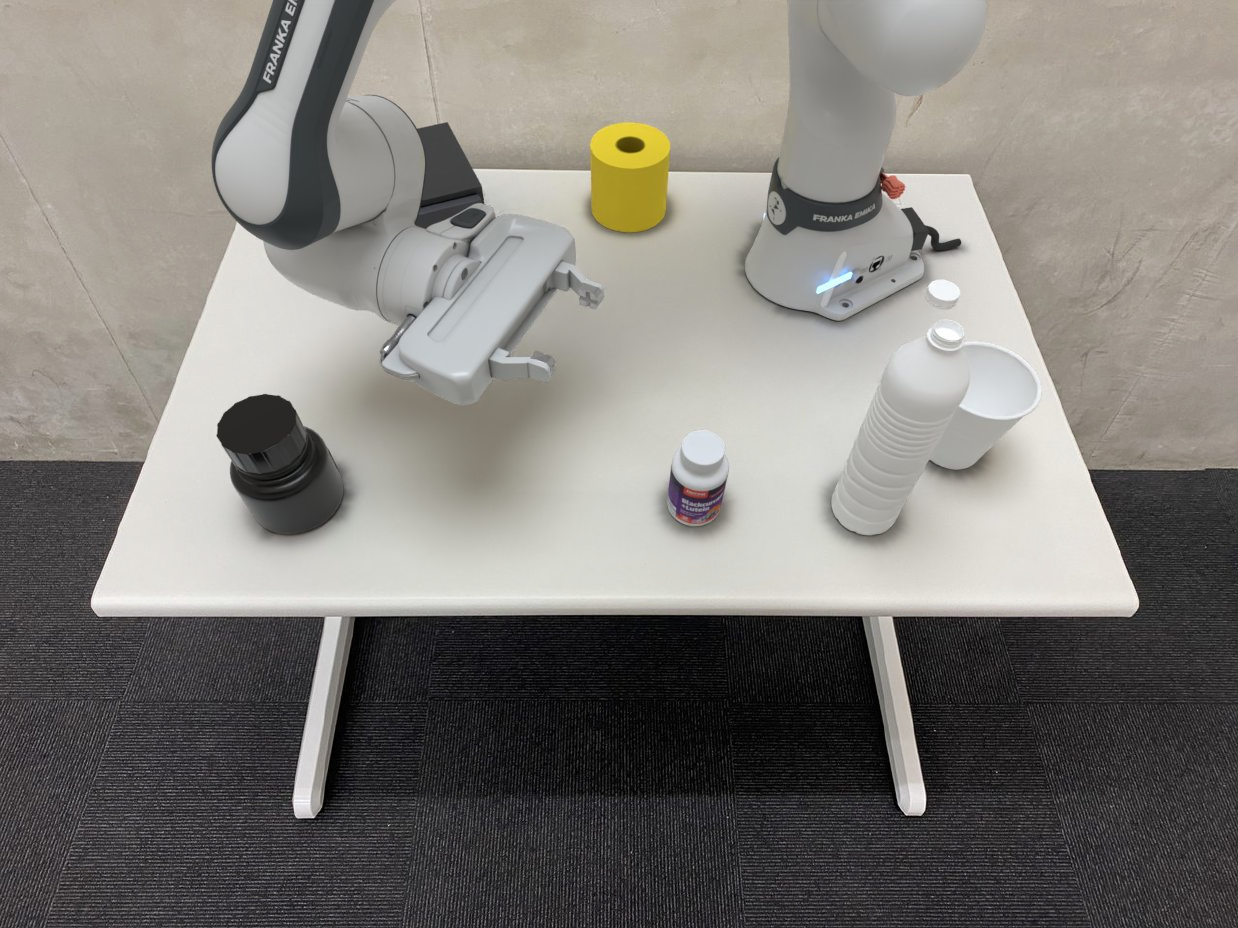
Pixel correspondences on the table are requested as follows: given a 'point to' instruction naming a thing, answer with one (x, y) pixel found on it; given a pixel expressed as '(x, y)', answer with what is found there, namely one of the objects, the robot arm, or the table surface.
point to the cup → (987, 404)
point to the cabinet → (446, 167)
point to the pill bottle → (698, 478)
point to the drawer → (444, 210)
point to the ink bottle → (279, 465)
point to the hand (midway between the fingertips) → (577, 333)
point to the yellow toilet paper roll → (629, 176)
